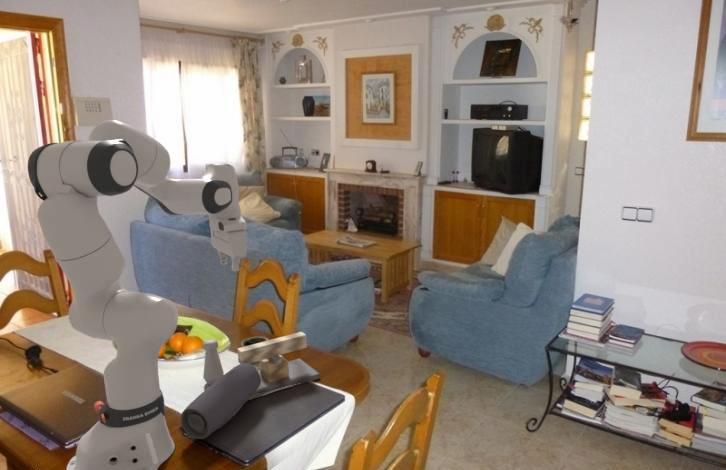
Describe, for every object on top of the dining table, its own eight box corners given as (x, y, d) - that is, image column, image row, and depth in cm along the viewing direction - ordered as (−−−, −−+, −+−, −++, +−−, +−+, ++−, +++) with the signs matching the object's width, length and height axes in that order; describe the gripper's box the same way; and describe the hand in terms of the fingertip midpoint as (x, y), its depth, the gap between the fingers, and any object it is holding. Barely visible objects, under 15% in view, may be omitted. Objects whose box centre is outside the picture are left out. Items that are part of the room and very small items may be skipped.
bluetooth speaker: (236, 392, 151) (230, 359, 148) (265, 396, 147) (260, 362, 145) (182, 441, 130) (175, 403, 128) (214, 446, 127) (207, 408, 124)
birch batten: (242, 365, 151) (241, 352, 150) (238, 361, 154) (237, 348, 153) (306, 347, 162) (306, 334, 161) (302, 344, 164) (301, 331, 163)
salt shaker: (218, 387, 156) (214, 345, 153) (200, 386, 157) (195, 344, 154) (227, 378, 161) (223, 337, 159) (210, 377, 162) (205, 336, 160)
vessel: (256, 350, 180) (255, 333, 179) (279, 354, 177) (277, 336, 175) (233, 365, 170) (231, 346, 169) (256, 370, 166) (255, 351, 165)
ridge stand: (248, 401, 148) (245, 373, 146) (231, 383, 158) (229, 357, 157) (319, 378, 159) (318, 352, 157) (299, 362, 170) (298, 338, 168)
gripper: (203, 217, 161) (207, 262, 164) (226, 227, 145) (231, 277, 147) (224, 214, 165) (228, 259, 168) (249, 223, 148) (253, 272, 151)
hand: (229, 267), depth 157 cm, fingers open, 8 cm apart
